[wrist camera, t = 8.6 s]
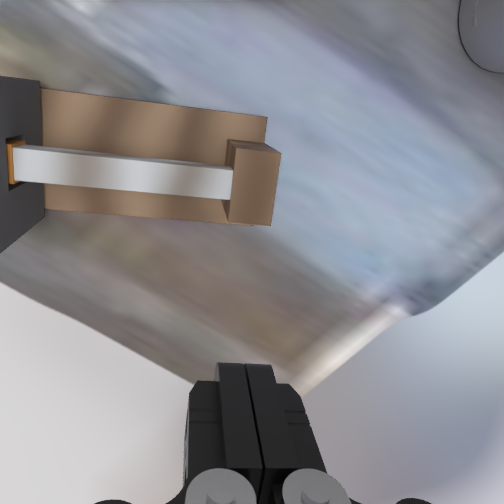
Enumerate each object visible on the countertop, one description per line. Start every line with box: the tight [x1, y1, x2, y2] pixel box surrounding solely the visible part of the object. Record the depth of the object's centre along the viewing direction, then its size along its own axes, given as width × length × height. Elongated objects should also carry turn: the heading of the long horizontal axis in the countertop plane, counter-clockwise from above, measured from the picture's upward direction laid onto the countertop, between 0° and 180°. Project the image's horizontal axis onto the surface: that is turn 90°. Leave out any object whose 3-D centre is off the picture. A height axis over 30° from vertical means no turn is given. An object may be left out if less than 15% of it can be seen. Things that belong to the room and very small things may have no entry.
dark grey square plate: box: [0, 76, 45, 253], centre depth 27 cm, size 2×10×10 cm, turn 173°
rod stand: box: [5, 88, 281, 226], centre depth 30 cm, size 24×9×8 cm, turn 83°
